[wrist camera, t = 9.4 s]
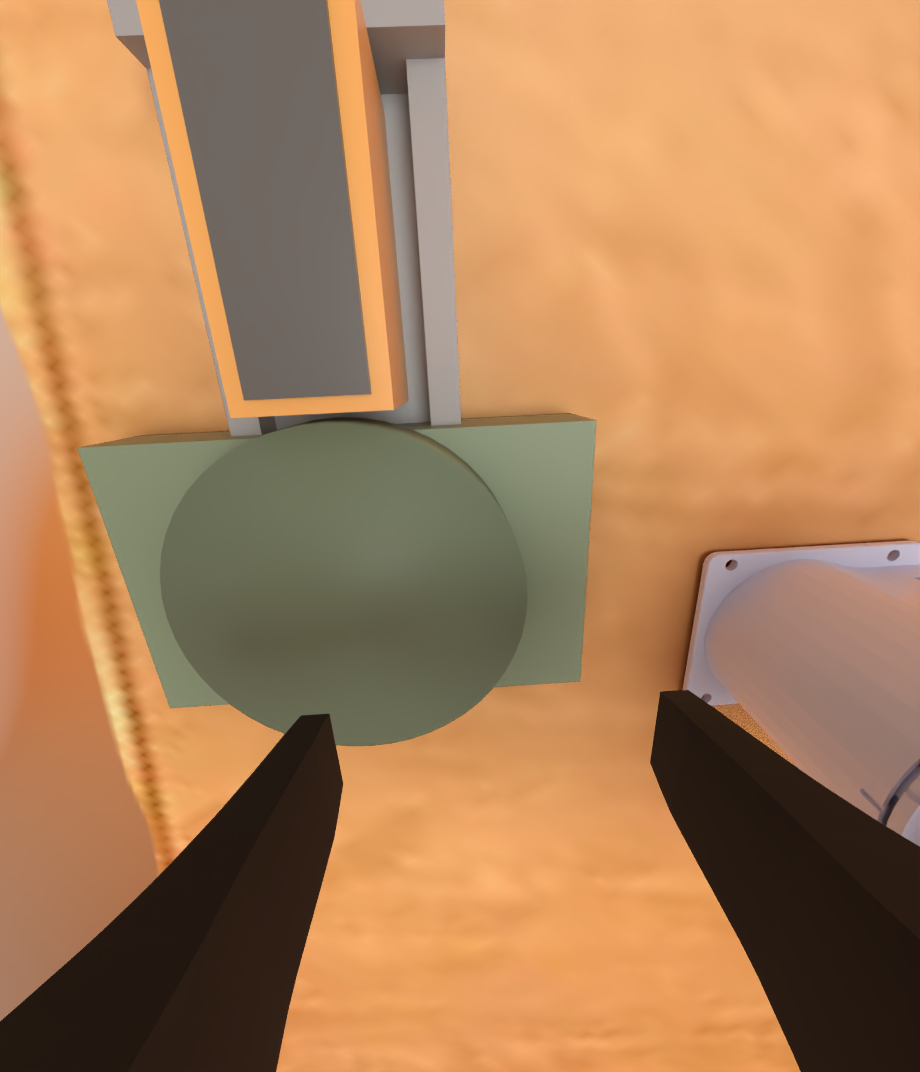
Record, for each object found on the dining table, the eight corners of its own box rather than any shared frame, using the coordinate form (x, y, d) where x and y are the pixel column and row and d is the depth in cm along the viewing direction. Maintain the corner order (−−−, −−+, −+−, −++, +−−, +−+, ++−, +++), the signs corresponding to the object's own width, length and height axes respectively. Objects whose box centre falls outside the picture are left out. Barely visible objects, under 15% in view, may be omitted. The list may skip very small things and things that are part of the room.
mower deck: (583, 56, 13) (668, -135, 8) (560, 647, 20) (596, 730, 15) (33, 75, 12) (-218, -112, 8) (212, 669, 19) (139, 761, 15)
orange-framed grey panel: (384, 112, 12) (347, -60, 8) (409, 400, 15) (393, 410, 10) (246, 117, 12) (118, -53, 7) (296, 406, 15) (226, 418, 10)
